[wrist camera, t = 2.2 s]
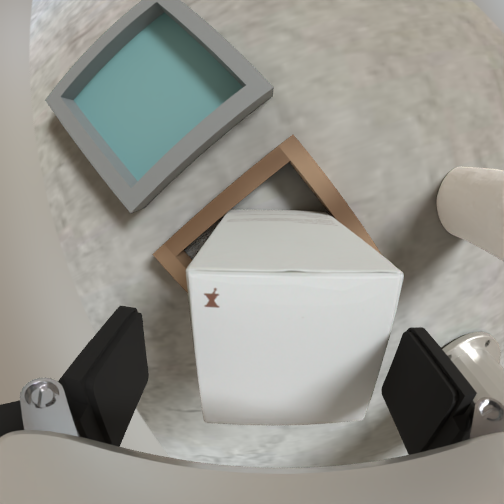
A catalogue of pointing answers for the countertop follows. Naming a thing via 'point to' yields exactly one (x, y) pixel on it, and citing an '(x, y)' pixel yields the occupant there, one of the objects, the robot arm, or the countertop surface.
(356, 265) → the supplement box
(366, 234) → the wooden picture frame
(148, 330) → the countertop surface
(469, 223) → the white rounded piece
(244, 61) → the dock
